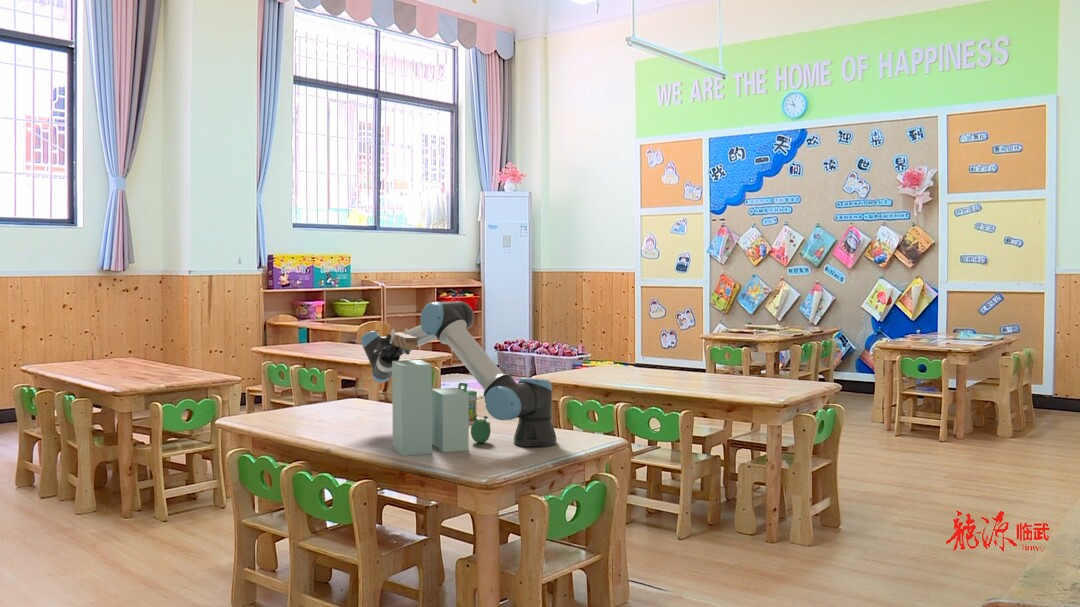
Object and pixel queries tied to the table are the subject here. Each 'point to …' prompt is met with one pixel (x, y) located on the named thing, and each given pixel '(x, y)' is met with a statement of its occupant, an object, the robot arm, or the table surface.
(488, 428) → the alien toy
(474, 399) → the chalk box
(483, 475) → the table surface
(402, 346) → the walnut rod
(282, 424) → the table surface
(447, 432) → the step shelf
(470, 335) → the robot arm
